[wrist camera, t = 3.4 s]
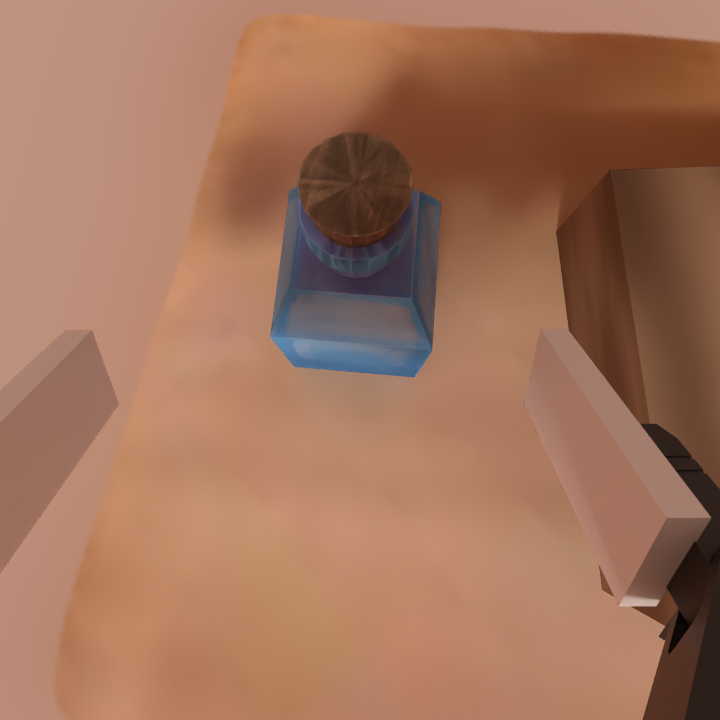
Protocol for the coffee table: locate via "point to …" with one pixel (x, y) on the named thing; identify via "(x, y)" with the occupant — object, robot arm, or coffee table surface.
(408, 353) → the perfume bottle
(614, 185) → the walnut riser block
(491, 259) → the coffee table surface
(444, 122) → the coffee table surface
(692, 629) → the robot arm
